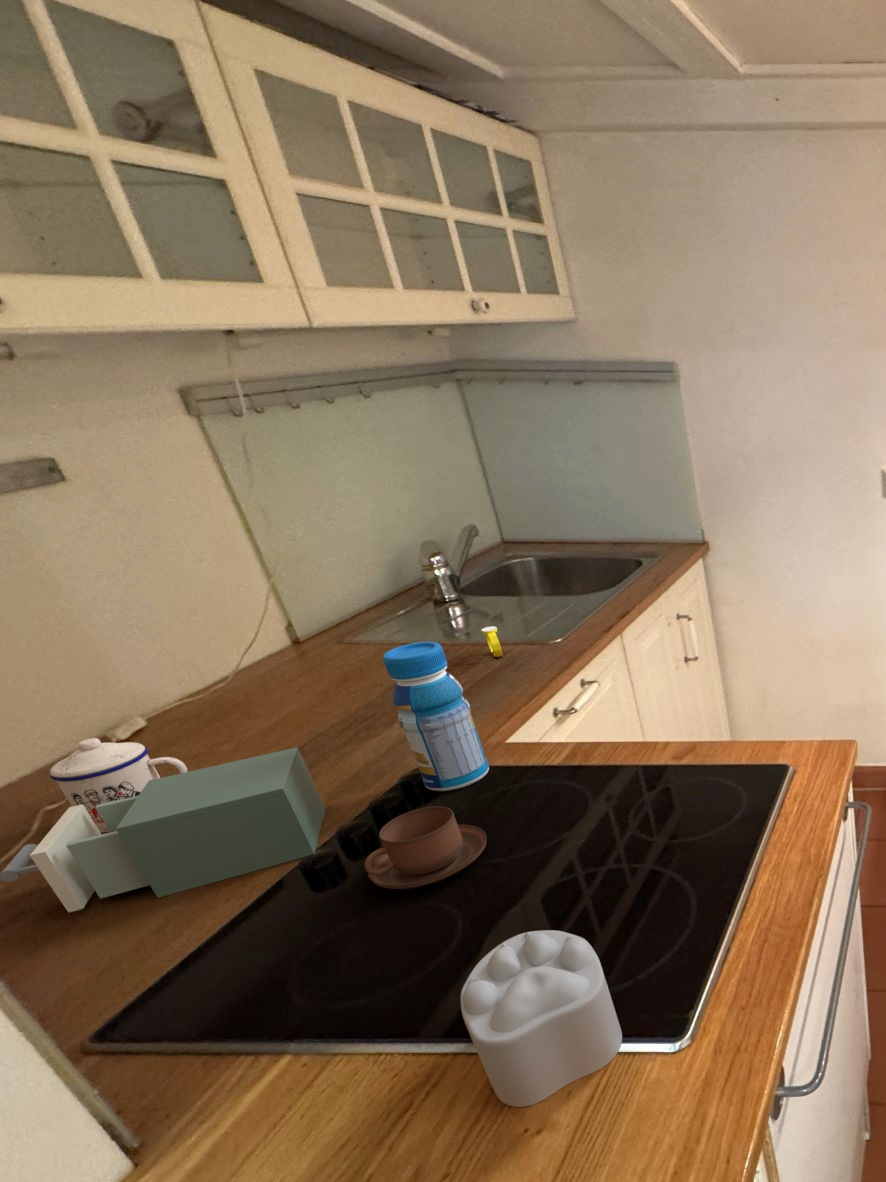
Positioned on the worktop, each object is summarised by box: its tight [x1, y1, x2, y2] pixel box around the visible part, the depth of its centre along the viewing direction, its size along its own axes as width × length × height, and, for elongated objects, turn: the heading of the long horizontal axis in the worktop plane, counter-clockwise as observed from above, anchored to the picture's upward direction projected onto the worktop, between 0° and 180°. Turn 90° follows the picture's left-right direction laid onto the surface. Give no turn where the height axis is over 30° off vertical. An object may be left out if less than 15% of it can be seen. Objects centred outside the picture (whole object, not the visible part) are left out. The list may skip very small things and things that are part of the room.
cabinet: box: [116, 747, 327, 899], centre depth 94 cm, size 15×13×10 cm
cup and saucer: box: [364, 805, 487, 890], centre depth 90 cm, size 12×12×6 cm
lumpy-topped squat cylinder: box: [459, 929, 623, 1108], centre depth 66 cm, size 10×13×9 cm
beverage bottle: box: [382, 641, 490, 792], centre depth 107 cm, size 8×8×20 cm
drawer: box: [0, 795, 150, 914], centre depth 90 cm, size 18×11×8 cm, turn 122°
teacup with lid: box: [49, 737, 189, 834], centre depth 103 cm, size 12×9×12 cm
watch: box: [480, 625, 503, 657], centre depth 155 cm, size 6×3×6 cm, turn 40°
